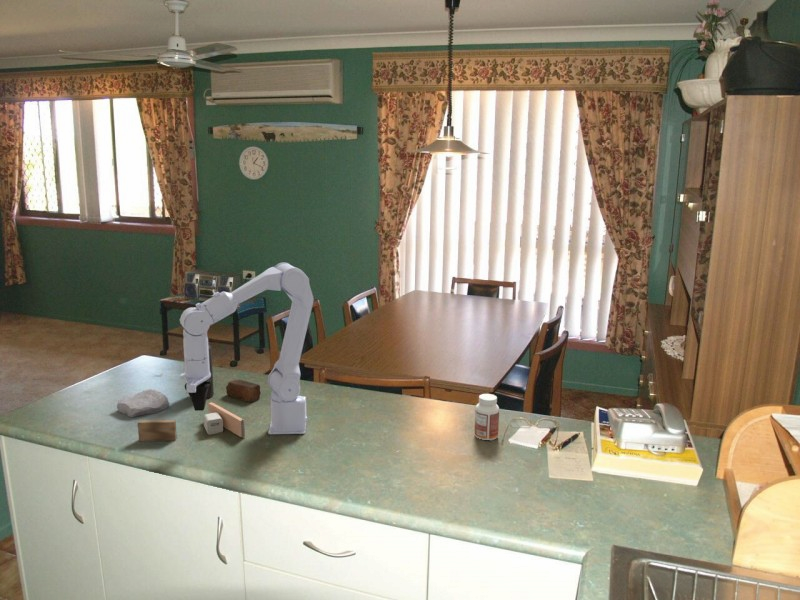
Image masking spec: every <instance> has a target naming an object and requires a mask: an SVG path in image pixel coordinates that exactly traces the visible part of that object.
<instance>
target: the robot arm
mask: <svg viewBox="0 0 800 600" xmlns="http://www.w3.org/2000/svg"><path fill="white" fill-rule="evenodd" d="M268 290H269V291H277V292H278V291H280V292H281V291H282V290H283V291H284V292H285V293H286V295H287V296H288V298H289V299H290V301H291V304H290V305H291V306H290V310H289V315H288V318H287V323H286V328H285V332H284V336H283V340H282V345H281V350H280V354H279V357H278V359H277V361H275V362H274V365H273V369H272V370H271V372H270V373H269V374H268V376H267V385H268V386H269V388H270V389H271V393H270V398H269V399H270V425H269V428H268V432H267V434H268V435H297V434H298V435H302V434H303V435H304V434H305V433H306V430H307V429H306V428H307V424H308V416H307V397H306V396H302V395H300V393H301V391H302V385H301V381H300V380H301V374H302V373H301V370H300V360H301V356H302V353H303V347H304V345H305V344H304V343H305V340H306V339H305V338H306V334H307V330H308V326H309V322H310V319H311V314H312V309H313V305H314V294H313V291H312V289H311V285H310V278H309V277H308V276H307V275H306V273H305V272H304V271H303V270H302V269H300V268H298V267H296V266H294V265H291V264H290V263H289V262H280V263H279V262H278V263H277V264H276V265H275V266H272V267H269V268H267V269H265V270H264V271H263V272H262V273H260V274H258V275H257V276H255V277H254V278H251V280H248V281H247V282H245V283H244V284H242V285H241V286H239V287H237V288H236V289H234V290H233V291H231V292H227V291H221V292H219V291H216V292H214V293H213V294H212V295H213V296H212V297H210V298H208V299H207V300H205V301H203V302H201V303H200V302H198V303H196V304H195V307H193V306H192V307H187V308H186V309H184V310H183V312H182V313H181V315H180V318H179V323H180V325H181V326H182V327H183V331H182V333H183V334H182V336H183V340H182V341H183V342H182V345H183V346H182V347H183V357H184V372H182V373H181V374H180V379H184V380H185V384H184V389H185V391H186V393H187V394H188V395H189V397H190V400H191V402H192V407H193V409H194V411H198V412H199V411H200V412H202V411H204V410H205V409H206V408H205V407H206V403H207V399H206V397H207V392H208V388H209V385H210V383H211V379H209V378H210V377H211V373H210V366H209V349H208V345H209V338H207V336H208V330H210V326H212V325H214V324H216V323H218V322H220V321H221V320H223V319H225V318H226V317H228V316H230V315H232V314H233V313H235V312H236V310H237V307H238V305H239V304H242V303H243V302H245V301H247V300H249V299H251V298H253V297H255V296H258V294H260V293H263V292H265V291H268Z"/></svg>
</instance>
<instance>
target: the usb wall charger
mask: <svg viewBox="0 0 800 600" xmlns="http://www.w3.org/2000/svg"><path fill="white" fill-rule="evenodd" d="M203 428H204V429H205V431H206V434H208V435H214V434H219V432H220V433H222V432H223V431H224V427H223V420H222V418H221V417H220V415H219V413H217V412H216V413H210V414H209V413H205V414H204V415H203Z"/></svg>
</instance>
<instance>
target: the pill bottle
mask: <svg viewBox="0 0 800 600" xmlns="http://www.w3.org/2000/svg"><path fill="white" fill-rule="evenodd" d="M497 403H498V397H497V395H495V394H491V393H482V394H479V396H478V403H476V406H475V414H474V415H475V416H474V436H475V437H476V438H477V439H478V438H479V440H480V439H482V440H481V441H484V440H490V441H494V440H496V439H498V436H499V427H500V426H499V424H500V422H499V421H500V407H499V405H498V404H497Z"/></svg>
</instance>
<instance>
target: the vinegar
mask: <svg viewBox="0 0 800 600" xmlns="http://www.w3.org/2000/svg"><path fill="white" fill-rule="evenodd" d="M207 338H208V335H207ZM208 339H209V338H208ZM208 349H209V366H210V373H211V377H210V378H209V379H211V383H210V385H209V388H208V392H207V397H206V400H208V399H210V398H212V397H213V396H214V395H215V394H214V374H213V373H214V371H213V356H212V355H213V353H212V346H211V345H210V344H208Z"/></svg>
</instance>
